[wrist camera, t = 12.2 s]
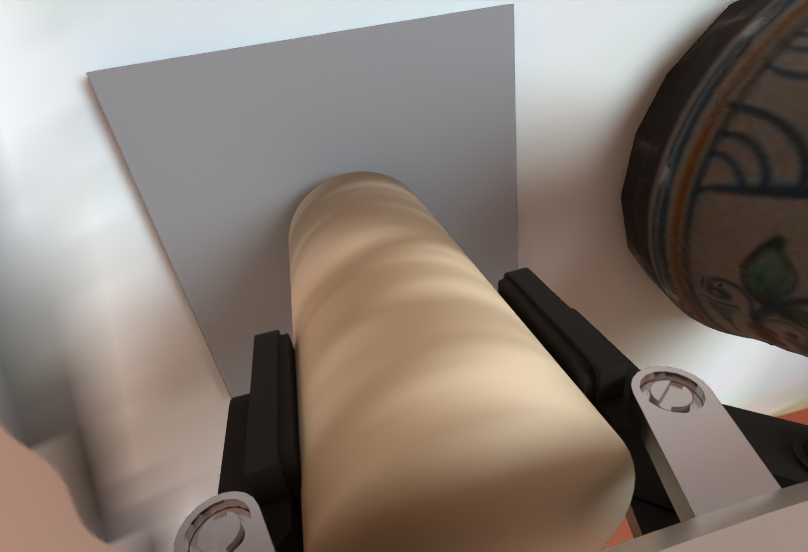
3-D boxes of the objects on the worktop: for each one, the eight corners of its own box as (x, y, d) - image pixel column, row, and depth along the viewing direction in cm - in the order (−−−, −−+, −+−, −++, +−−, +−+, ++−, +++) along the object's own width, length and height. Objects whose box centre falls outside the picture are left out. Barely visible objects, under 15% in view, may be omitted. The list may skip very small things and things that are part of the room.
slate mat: (503, 5, 17) (514, 3, 16) (511, 318, 23) (518, 327, 23) (95, 70, 15) (86, 73, 14) (235, 392, 22) (233, 404, 21)
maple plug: (420, 157, 17) (656, 364, 6) (435, 284, 19) (618, 576, 9) (270, 188, 16) (256, 482, 5) (307, 316, 18) (346, 675, 8)
